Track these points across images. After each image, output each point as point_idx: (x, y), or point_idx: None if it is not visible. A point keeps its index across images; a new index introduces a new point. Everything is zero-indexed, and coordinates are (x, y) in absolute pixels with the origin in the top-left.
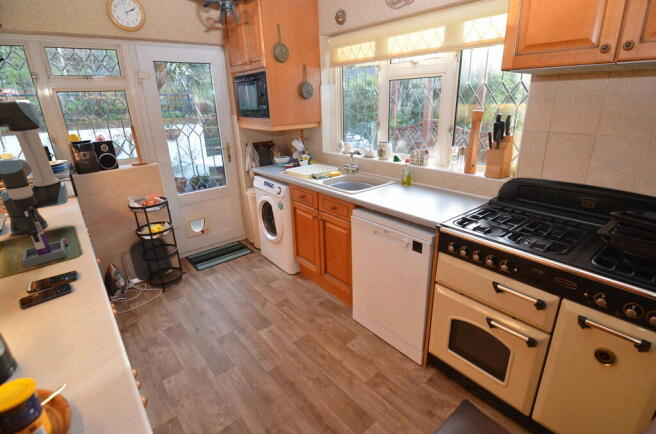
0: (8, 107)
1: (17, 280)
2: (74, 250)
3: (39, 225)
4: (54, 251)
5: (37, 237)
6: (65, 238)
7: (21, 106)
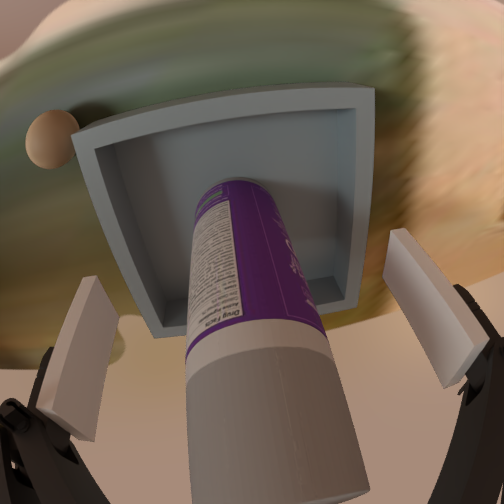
0: None
1: (451, 269)
2: (253, 30)
3: (329, 453)
4: (200, 168)
5: (486, 321)
6: (32, 130)
7: None
